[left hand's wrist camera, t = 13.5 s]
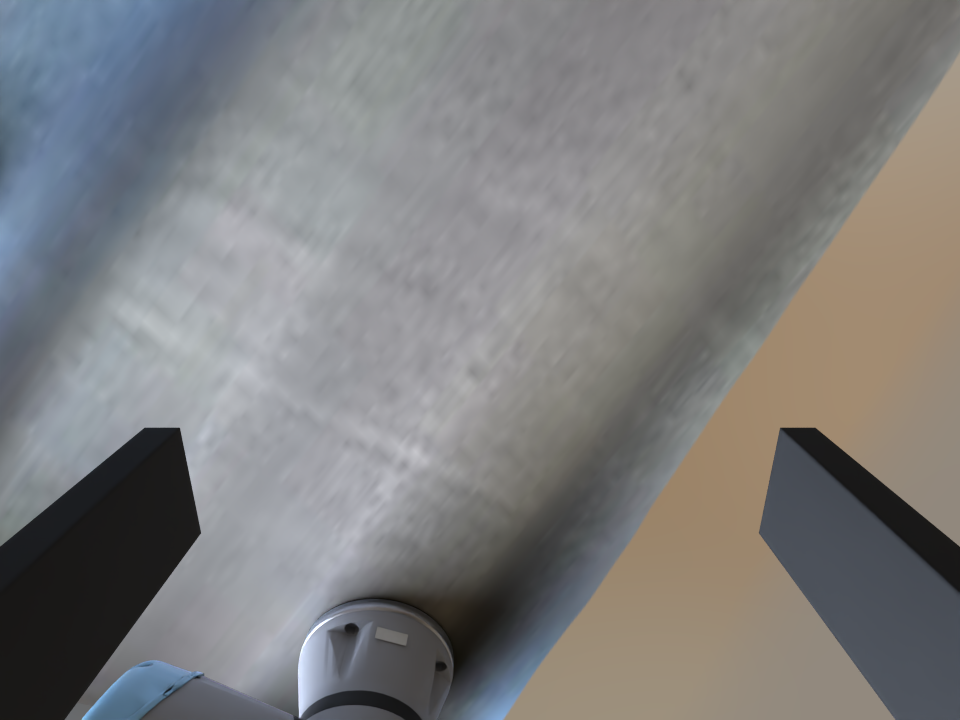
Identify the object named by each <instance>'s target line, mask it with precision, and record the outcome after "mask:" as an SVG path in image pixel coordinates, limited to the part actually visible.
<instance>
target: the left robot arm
mask: <svg viewBox="0 0 960 720" xmlns="http://www.w3.org/2000/svg"><path fill="white" fill-rule="evenodd" d="M200 534H201V531H200V526H199V521H198V516H197V511H196V506H195V501H194V496H193V491H192V486H191V481H190V476H189V471H188V466H187V461H186V456H185V451H184V446H183V441H182V436H181V431H180V428H144V429H143V430H141V431H140V432H139V433H138V434H137V435H135V436H134V437H133V438H132V439H131V440H129V441H128V442H127V443H126V444H124V445H123V446H122V447H121V448H120V449H118V450H117V451H116V452H115V453H114V454H112V455H111V456H110V457H109V458H107V459H106V460H105V461H104V462H103V463H101V464H100V465H99V466H98V467H97V468H95V469H94V470H93V471H92V472H90V473H89V474H88V475H87V476H86V477H84V478H83V479H82V480H81V481H80V482H78V483H77V484H76V485H75V486H73V487H72V488H71V489H70V490H69V491H67V492H66V493H65V494H64V495H63V496H61V497H60V498H59V499H58V500H56V501H55V502H54V503H53V504H52V505H50V506H49V507H48V508H47V509H46V510H44V511H43V512H42V513H41V514H39V515H38V516H37V517H36V518H35V519H33V520H32V521H31V522H30V523H29V524H27V525H26V526H25V527H24V528H22V529H21V530H20V531H19V532H18V533H16V534H15V535H14V536H13V537H12V538H10V539H9V540H8V541H7V542H5V543H4V544H3V545H2V546H1V547H0V720H65V718H66V717H67V716H68V714H69V713H70V711H71V710H72V709H73V707H74V706H75V705H76V703H77V702H78V701H79V699H80V698H81V696H82V695H83V694H84V692H85V691H86V690H87V688H88V687H89V685H90V684H91V683H92V681H93V680H94V679H95V677H96V676H97V675H98V673H99V672H100V670H101V669H102V668H103V666H104V665H105V664H106V662H107V661H108V660H109V658H110V657H111V655H112V654H113V653H114V651H115V650H116V649H117V647H118V646H119V644H120V643H121V642H122V640H123V639H124V638H125V636H126V635H127V634H128V632H129V631H130V629H131V628H132V627H133V625H134V624H135V623H136V621H137V620H138V619H139V617H140V616H141V614H142V613H143V612H144V610H145V609H146V608H147V606H148V605H149V603H150V602H151V601H152V599H153V598H154V597H155V595H156V594H157V593H158V591H159V590H160V588H161V587H162V586H163V584H164V583H165V582H166V580H167V579H168V578H169V576H170V575H171V573H172V572H173V571H174V569H175V568H176V567H177V565H178V564H179V562H180V561H181V560H182V558H183V557H184V556H185V554H186V553H187V552H188V550H189V549H190V547H191V546H192V545H193V543H194V542H195V541H196V539H197V538H198V537H199V535H200ZM759 534H760V535H761V537H762V538H763V539H764V541H765V542H766V543H767V545H768V546H769V547H770V549H771V550H772V552H773V553H774V554H775V556H776V557H777V558H778V560H779V561H780V562H781V564H782V565H783V566H784V568H785V569H786V571H787V572H788V573H789V575H790V576H791V577H792V579H793V580H794V582H795V583H796V584H797V586H798V587H799V588H800V590H801V591H802V593H803V594H804V595H805V597H806V598H807V599H808V601H809V602H810V603H811V605H812V606H813V608H814V609H815V610H816V612H817V613H818V614H819V616H820V617H821V618H822V620H823V621H824V623H825V624H826V625H827V627H828V628H829V629H830V631H831V632H832V634H833V635H834V636H835V638H836V639H837V640H838V642H839V643H840V644H841V646H842V647H843V649H844V650H845V651H846V653H847V654H848V655H849V657H850V658H851V660H852V661H853V662H854V664H855V665H856V666H857V668H858V669H859V670H860V672H861V673H862V675H863V676H864V677H865V679H866V680H867V681H868V683H869V684H870V685H871V687H872V688H873V690H874V691H875V692H876V694H877V695H878V696H879V698H880V699H881V701H882V702H883V703H884V705H885V706H886V707H887V709H888V710H889V711H890V713H891V714H892V716H893V717H894V718H895V720H960V547H959V546H958V545H957V544H956V543H955V542H953V541H952V540H951V539H950V538H948V537H947V536H946V535H945V534H944V533H942V532H941V531H940V530H939V529H937V528H936V527H935V526H934V525H933V524H931V523H930V522H929V521H928V520H927V519H925V518H924V517H923V516H922V515H921V514H919V513H918V512H917V511H916V510H914V509H913V508H912V507H911V506H910V505H908V504H907V503H906V502H905V501H904V500H902V499H901V498H900V497H899V496H897V495H896V494H895V493H894V492H893V491H891V490H890V489H889V488H888V487H887V486H885V485H884V484H883V483H882V482H880V481H879V480H878V479H877V478H876V477H874V476H873V475H872V474H871V473H870V472H868V471H867V470H866V469H865V468H863V467H862V466H861V465H860V464H859V463H857V462H856V461H855V460H854V459H853V458H851V457H850V456H849V455H848V454H846V453H845V452H844V451H843V450H842V449H840V448H839V447H838V446H837V445H835V444H834V443H833V442H832V441H831V440H829V439H828V438H827V437H826V436H825V435H823V434H822V433H821V432H820V431H819V430H817V429H816V428H780V431H779V436H778V442H777V446H776V451H775V456H774V461H773V466H772V471H771V476H770V481H769V486H768V491H767V496H766V501H765V506H764V511H763V516H762V521H761V526H760V531H759ZM453 666H454V655H453V649H452V646H451V643H450V640H449V638H448V637H447V635H446V633H445V632H444V630H443V629H442V628H441V627H440V626H439V624H438V623H437V622H436V621H434V620H433V619H432V618H431V617H429V616H428V615H427V614H425V613H424V612H422V611H420V610H418V609H416V608H414V607H412V606H409V605H407V604H404V603H400V602H396V601H392V600H385V599H363V600H357V601H352V602H348V603H345V604H342V605H339V606H337V607H335V608H333V609H331V610H329V611H328V612H326V613H325V614H324V615H322V616H321V617H320V618H319V619H318V620H317V621H316V622H315V623H314V624H313V626H312V627H311V628H310V630H309V632H308V634H307V636H306V639H305V641H304V644H303V647H302V650H301V653H300V659H299V666H298V685H299V718H298V717H296V716H294V715H292V714H289V713H287V712H285V711H282V710H280V709H278V708H276V707H273V706H271V705H269V704H266V703H264V702H262V701H260V700H257V699H255V698H253V697H250V696H248V695H246V694H244V693H241V692H239V691H237V690H234V689H232V688H230V687H227V686H225V685H223V684H221V683H218V682H216V681H214V680H211V679H209V678H207V677H205V676H204V673H202V672H199V671H195V672H190V671H187V670H184V669H182V668H179V667H176V666H173V665H171V664H168V663H165V662H162V661H158V660H150V661H145V662H142V663H140V664H138V665H136V666H134V667H132V668H131V669H130V670H128V671H127V672H126V673H124V674H123V675H122V676H121V677H120V678H119V679H118V680H117V681H116V682H115V683H114V684H113V685H112V686H111V687H110V688H109V689H108V690H107V691H106V692H105V693H104V694H103V696H102V697H101V698H100V699H99V700H98V701H97V702H96V703H95V704H94V706H93V707H92V708H91V709H90V710H89V711H88V713H87V714H86V715H85V716H84V717H83V719H82V720H437V719H438V717H439V714H440V712H441V710H442V707H443V705H444V703H445V700H446V698H447V696H448V693H449V690H450V687H451V683H452V679H453Z"/></svg>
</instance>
